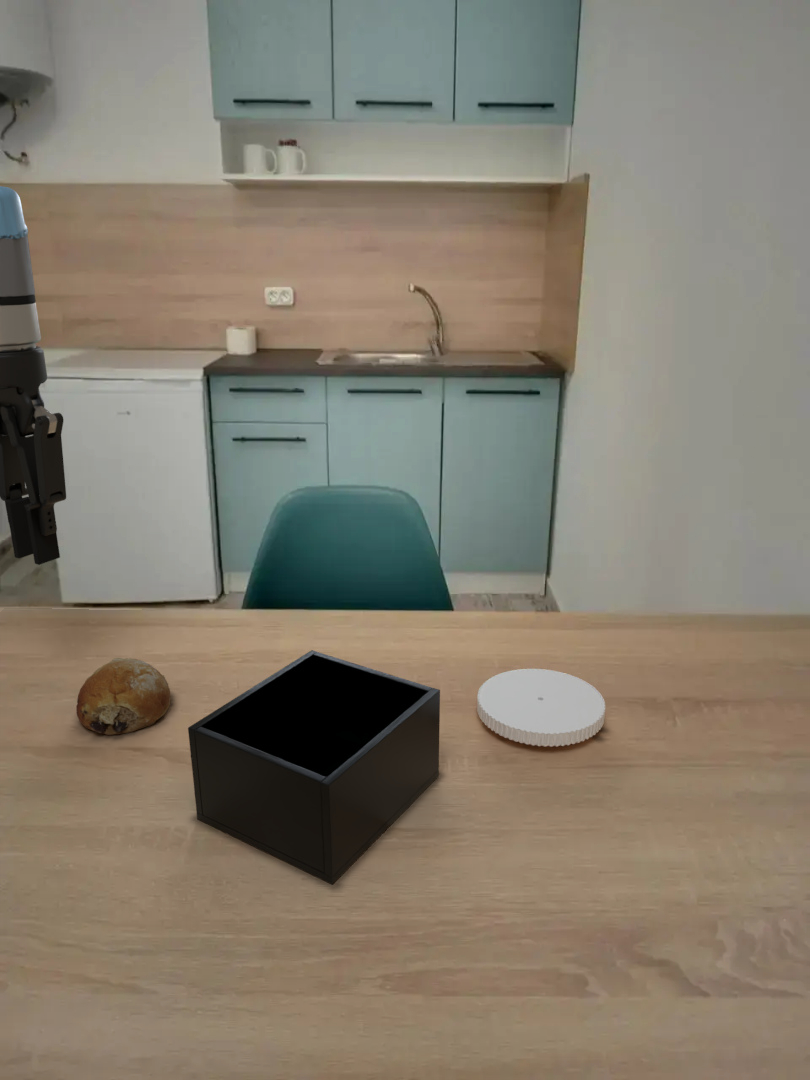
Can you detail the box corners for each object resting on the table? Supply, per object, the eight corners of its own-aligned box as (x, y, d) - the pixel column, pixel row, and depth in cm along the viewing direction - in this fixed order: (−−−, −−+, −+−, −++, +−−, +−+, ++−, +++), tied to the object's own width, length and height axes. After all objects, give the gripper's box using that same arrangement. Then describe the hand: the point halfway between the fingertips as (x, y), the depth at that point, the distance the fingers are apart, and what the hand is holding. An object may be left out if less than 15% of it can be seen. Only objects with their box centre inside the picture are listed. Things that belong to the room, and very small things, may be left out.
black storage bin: (196, 819, 76) (187, 727, 73) (315, 730, 90) (311, 649, 87) (332, 885, 69) (328, 785, 65) (438, 776, 83) (440, 689, 79)
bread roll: (181, 739, 95) (197, 671, 95) (112, 746, 86) (130, 670, 86) (121, 715, 100) (136, 650, 100) (50, 719, 91) (67, 648, 91)
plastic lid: (463, 741, 88) (464, 721, 87) (490, 679, 101) (491, 661, 100) (597, 764, 84) (599, 743, 84) (608, 697, 97) (610, 678, 96)
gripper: (84, 347, 85) (111, 560, 93) (-9, 338, 93) (23, 535, 101) (18, 355, 79) (53, 582, 87) (-75, 345, 87) (-35, 554, 95)
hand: (37, 557), depth 94 cm, fingers open, 3 cm apart
